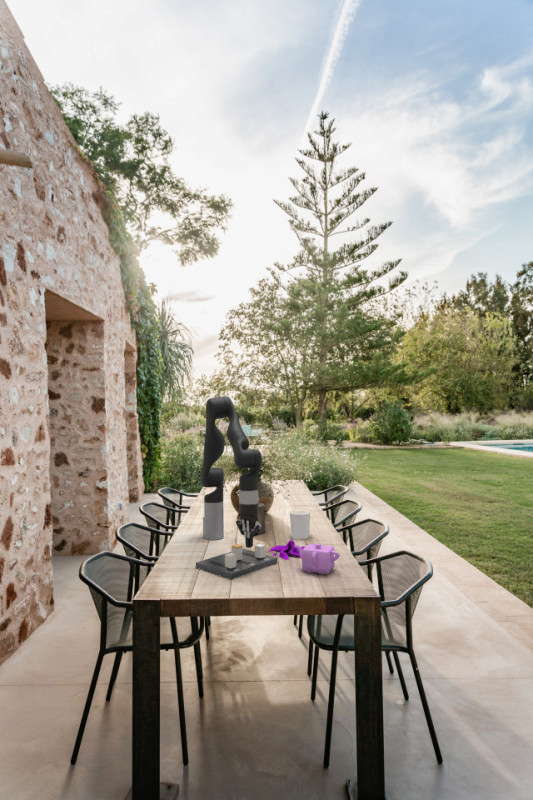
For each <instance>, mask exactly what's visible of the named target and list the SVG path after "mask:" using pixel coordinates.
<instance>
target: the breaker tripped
mask: <svg viewBox="0 0 533 800" xmlns="http://www.w3.org/2000/svg"><path fill="white" fill-rule="evenodd" d="M242 548H243V545H240V544H234V545H231V552H232V553H233V554H236V560H240V559H242Z"/></svg>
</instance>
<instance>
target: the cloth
mask: <svg viewBox="0 0 533 800" xmlns="http://www.w3.org/2000/svg"><path fill="white" fill-rule="evenodd" d="M294 545H296V542H295V540H293V539H291V540H289V541H288V542H287V543H286V544H285V545H283V544H281V545H275V546H273V547H271V548H270V549H269V550H268V552H270V551H275V552H272V553H273V554H272V557H274V556H275V557H277V556H278V558H280V559H283V560H285V561H289V560H290V558H289V556H288V555H290V557H291V556H292V557H295V556H296V558H298V557H299V558H298V559H300V558H301V557H300V554H299V551H298V548H297V547H296V546H294ZM300 547H301V548H302V550H303V549H304V548H305V547H306V546H303V545H302V546H300ZM277 554H278V555H277ZM276 555H277V556H276Z"/></svg>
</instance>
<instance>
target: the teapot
mask: <svg viewBox="0 0 533 800" xmlns="http://www.w3.org/2000/svg"><path fill="white" fill-rule="evenodd" d="M294 546H295V547H297V548H298V551H299V554H300V557H301V559H300V560H301V571H303V572H307V573H308V574H313V573H316V574H317V573H318V574H320V575H322V576H323V575H329V574H330V573H331V572H332V570H333V569H335V562H336V561H337V560H338V559H339V558H340V553H339V552H338V551H336V550H335V546H333V545H325V544H324V545H323V544H321V543H313V544H312V543H308V544H307V545H306V546H304V547H305V548H304V549H303V550H302V548H301V547H302V546H300V545H299V544H295V545H294Z"/></svg>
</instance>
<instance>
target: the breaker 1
mask: <svg viewBox="0 0 533 800" xmlns="http://www.w3.org/2000/svg"><path fill="white" fill-rule="evenodd" d="M228 553H229V552H228ZM224 554H225V553H224ZM225 567H227V568H230V569H231V568H234V567H236V554H233V553H229V554H225Z"/></svg>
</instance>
